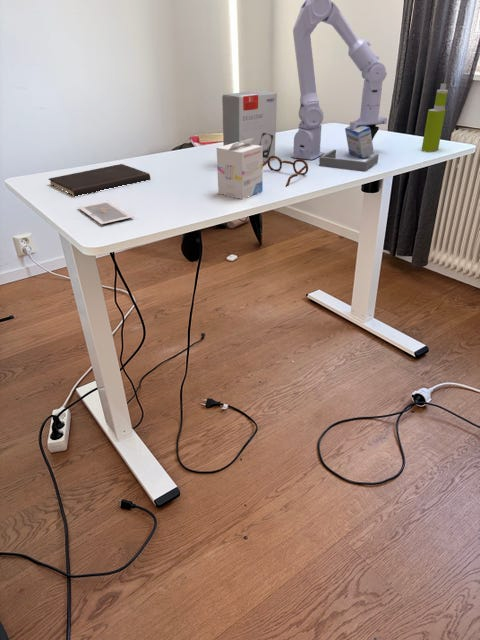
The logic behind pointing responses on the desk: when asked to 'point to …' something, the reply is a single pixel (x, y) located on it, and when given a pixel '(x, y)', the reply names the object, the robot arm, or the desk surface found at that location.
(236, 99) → the hard drive box
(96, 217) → the touchpad
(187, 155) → the desk surface
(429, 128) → the vape
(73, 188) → the hardcover book
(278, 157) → the glasses
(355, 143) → the medicine box
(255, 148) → the ink box
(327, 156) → the box
